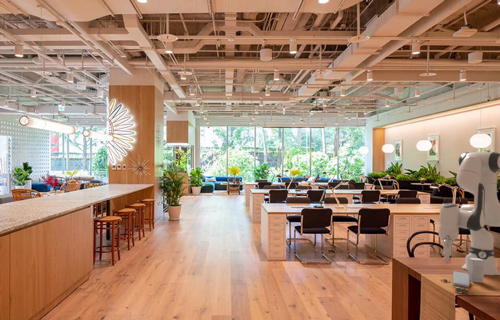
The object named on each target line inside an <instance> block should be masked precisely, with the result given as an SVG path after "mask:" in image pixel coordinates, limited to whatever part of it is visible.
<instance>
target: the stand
mask: <svg viewBox="0 0 500 320" xmlns="http://www.w3.org/2000/svg"><path fill="white" fill-rule="evenodd" d="M444 280H445V281H444ZM440 281H441V282H443V283H445V282H446V283H445V284H447V283H450V282H451V281H450V280H448V279H445V278H443V279H442V278H441V279H440Z"/></svg>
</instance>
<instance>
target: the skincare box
mask: <svg viewBox="0 0 500 320" xmlns="http://www.w3.org/2000/svg"><path fill="white" fill-rule="evenodd" d="M467 274H468V275H469V282H472V283H482V284H483V283H484V277H485V275H484V260H482V259H480V258H469V262H468V270H467Z"/></svg>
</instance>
